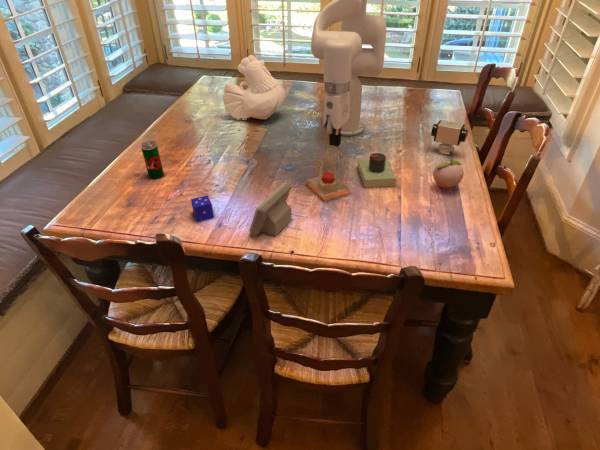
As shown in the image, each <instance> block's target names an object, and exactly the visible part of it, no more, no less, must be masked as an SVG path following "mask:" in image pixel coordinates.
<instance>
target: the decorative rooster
mask: <svg viewBox="0 0 600 450" xmlns="http://www.w3.org/2000/svg"><path fill="white" fill-rule="evenodd" d="M265 65H266V64H265V59H261V60H258V59H257V58H256V56H255V55H253V54H249V55H248V56H247V57H243V58H242V59H241V61H240V63H239V64H238V65H237V71H238V72H239V73H240V74H242V75H243V76H244V77H245V80H242V81H241V82H240V83H239V85H238V84H235V83H232V82H230V81H228V82H227V83H226V84H225V86H224V88H223V91H224V92H223V94H222V102H223V105H224V110H225V112H226V113H228V115H230V116H231V117H232V118H234V119H235V118H248V119H236V120H237V121H240V120H242V121H247V120H249V119H250V118H253V119H256V120H257V119H258V120H268V119H269V118H270V117H271V116H272V115H273V114H274V113H275V112H276V111H278V109H280V108H281V107H283V106H284V105H285V103H286V91H285V89H284V87H283V86H282V84H281V83H280V82H279V80H277V79H276V78H275V77H273V76H272V73H271V72H270V71H269V70H268V68H267V66H265ZM244 85H246V86H247V89H245V88H243V87H244ZM267 118H268V119H267Z"/></svg>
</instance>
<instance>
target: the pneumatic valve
mask: <svg viewBox="0 0 600 450" xmlns="http://www.w3.org/2000/svg"><path fill="white" fill-rule="evenodd" d="M468 134H469V129H466V124H464V123H458V122H456V121H454V122H453V121H452V120H450V121H447V120H441V119H440V120H439V121H438V122H437V123H434V124H433V125H432V127H431V131H430V136H431V137H433V142H437V143H439V144H438V147H437V150H438V153H439V154H442V155H446V156H450V155H451V154H453V153H454V151H455V146H458V147H459V146H460V145H461V143H465V142H466V140H467V137H468Z"/></svg>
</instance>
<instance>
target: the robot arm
mask: <svg viewBox="0 0 600 450" xmlns="http://www.w3.org/2000/svg"><path fill="white" fill-rule="evenodd" d="M367 3H368V0H331V1H330V2H329V3H327V4H326V5H325V6H324V7H323V8H322V9H321V11H320V12H319V13H318V14H317V16H316V17H315V21H314V23H313V28H312V34H311V39H310V52H311V55H312V56H313V57H314V58H315V59H318V60H323V90H322V91H323V93H324V100H323V109H322V110H323V111H322V113H323V114H322V125H323V127H324V128H326V134H329V135H328V145H329V146H333V147H336V148H338V147H340V146H341V145H342V136H350V137H351V136H356V135H360V134H361V133H362V132H363V130H364V126H363V124H361V123H360V122H361V111H362V109H361V108H362V95H363V85H362V82H361V81H360V79H359V77H361V76H362V77H363V76H364V77H378V76H380V75H381V74H382V72H383V70H384V65H385V64H384V62H385V53H386V52H385V51H386V42H387V41H386V40H387V21H386V19H385V17H384V16H382V15H377V14H368V13H367V5H368V4H367ZM337 23H340V30H327V29H328V28H329V27H330V26H332V25H334V24H337ZM363 45H370V46H371V47H363Z"/></svg>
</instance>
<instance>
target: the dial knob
mask: <svg viewBox="0 0 600 450" xmlns="http://www.w3.org/2000/svg"><path fill="white" fill-rule="evenodd" d="M386 156H387V155H385V154H384V153H380V152H374V153H371V154H370V155H369V158H368V160H369V170H370V171H372V172H375V173H380V172H383V171H384V170H385V161H386V159H387V157H386Z"/></svg>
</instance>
